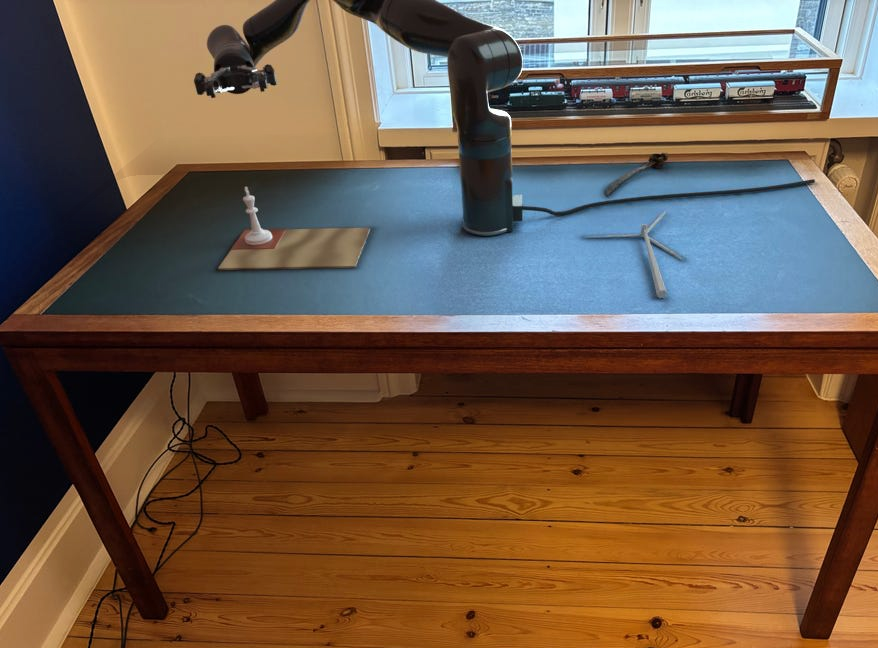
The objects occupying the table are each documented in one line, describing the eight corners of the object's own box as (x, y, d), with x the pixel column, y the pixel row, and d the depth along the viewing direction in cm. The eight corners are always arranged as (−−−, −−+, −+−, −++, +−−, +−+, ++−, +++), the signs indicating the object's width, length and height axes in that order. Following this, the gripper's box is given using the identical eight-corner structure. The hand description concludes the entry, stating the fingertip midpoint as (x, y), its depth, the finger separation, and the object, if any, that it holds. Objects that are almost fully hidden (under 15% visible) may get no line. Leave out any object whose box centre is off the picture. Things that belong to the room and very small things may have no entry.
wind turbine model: (696, 300, 110) (666, 212, 134) (697, 287, 108) (667, 200, 132) (592, 303, 111) (581, 215, 135) (593, 290, 110) (581, 204, 133)
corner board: (370, 229, 135) (370, 226, 135) (355, 267, 123) (355, 265, 122) (245, 232, 136) (245, 229, 136) (218, 270, 124) (217, 267, 124)
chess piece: (248, 247, 130) (234, 194, 124) (242, 237, 133) (228, 185, 128) (275, 240, 132) (263, 188, 126) (268, 230, 135) (256, 179, 129)
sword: (608, 197, 142) (609, 187, 140) (593, 193, 144) (594, 183, 142) (675, 160, 156) (676, 151, 154) (661, 157, 158) (662, 147, 157)
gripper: (190, 52, 136) (188, 71, 124) (267, 43, 140) (273, 61, 127) (201, 93, 141) (201, 116, 128) (275, 84, 144) (282, 105, 131)
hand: (236, 88), depth 127 cm, fingers open, 8 cm apart
